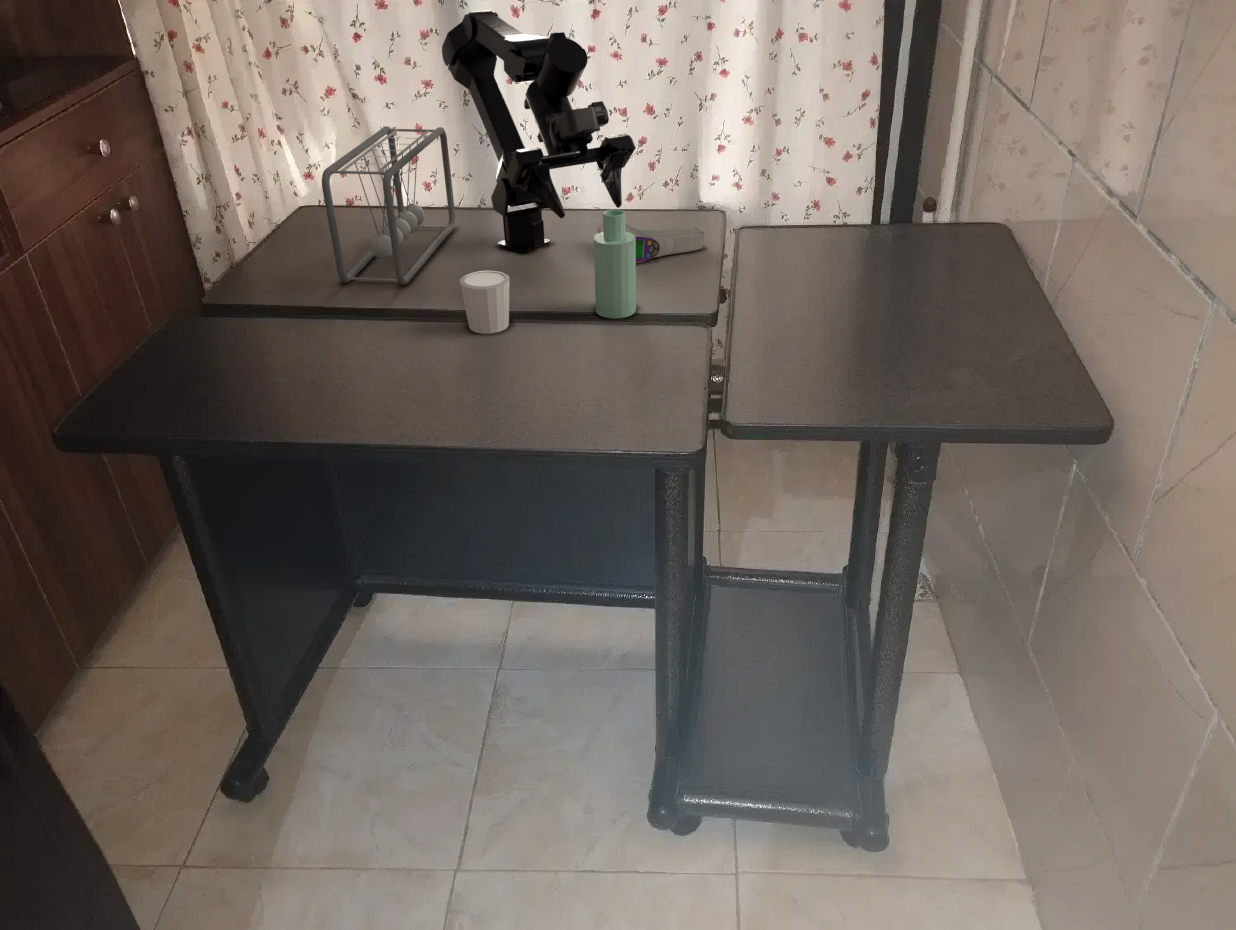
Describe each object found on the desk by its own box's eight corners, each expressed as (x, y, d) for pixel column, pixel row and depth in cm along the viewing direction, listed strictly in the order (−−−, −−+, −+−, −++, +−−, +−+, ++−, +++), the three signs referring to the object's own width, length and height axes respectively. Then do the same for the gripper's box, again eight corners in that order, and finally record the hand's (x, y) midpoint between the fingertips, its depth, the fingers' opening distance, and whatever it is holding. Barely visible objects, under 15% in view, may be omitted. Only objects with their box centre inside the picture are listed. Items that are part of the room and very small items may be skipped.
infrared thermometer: (706, 256, 160) (627, 266, 154) (669, 234, 169) (593, 243, 163) (708, 229, 158) (628, 238, 152) (671, 209, 167) (594, 217, 161)
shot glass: (504, 337, 132) (500, 289, 129) (457, 333, 134) (452, 286, 130) (519, 317, 138) (515, 271, 134) (473, 314, 139) (469, 268, 135)
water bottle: (587, 312, 139) (584, 214, 131) (612, 299, 143) (611, 203, 135) (618, 322, 136) (617, 222, 128) (643, 308, 140) (643, 211, 132)
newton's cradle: (403, 290, 147) (387, 174, 138) (339, 287, 149) (318, 172, 139) (457, 226, 172) (446, 124, 163) (401, 224, 174) (387, 123, 164)
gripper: (508, 90, 129) (547, 192, 127) (628, 75, 137) (668, 171, 134) (491, 138, 139) (527, 233, 137) (604, 121, 147) (640, 211, 144)
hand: (591, 211), depth 138 cm, fingers open, 9 cm apart
